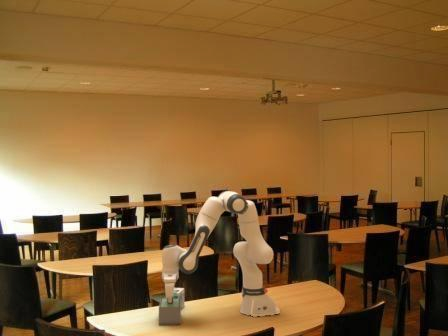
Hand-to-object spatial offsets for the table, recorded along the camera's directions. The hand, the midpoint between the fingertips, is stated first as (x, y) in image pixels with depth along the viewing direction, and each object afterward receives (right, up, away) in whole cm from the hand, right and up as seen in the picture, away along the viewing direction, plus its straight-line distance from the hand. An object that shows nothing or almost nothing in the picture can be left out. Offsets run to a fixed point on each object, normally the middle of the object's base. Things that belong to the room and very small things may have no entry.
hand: (170, 301), depth 242 cm
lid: (0, -2, 0) cm, 2 cm away
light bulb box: (+1, -10, +19) cm, 22 cm away
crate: (0, -10, 0) cm, 10 cm away
